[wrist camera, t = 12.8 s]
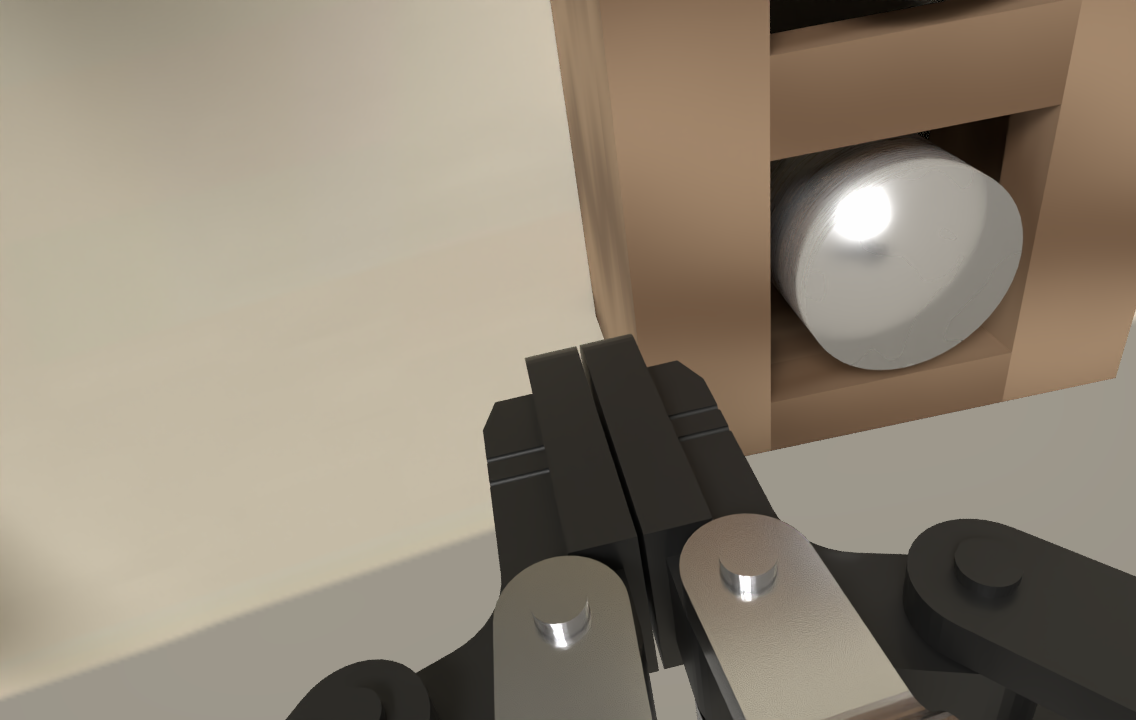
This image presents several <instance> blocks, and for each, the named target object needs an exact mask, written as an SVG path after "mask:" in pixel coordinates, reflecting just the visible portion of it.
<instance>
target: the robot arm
mask: <svg viewBox="0 0 1136 720" xmlns="http://www.w3.org/2000/svg"><path fill="white" fill-rule="evenodd" d="M580 352H581V359H582V362H581V359H580V356H579V353H578V350H577V348H576V346H575V347H571V348H566V349H562V350H558V351H553V352H549V353H545V354H540V355H536V356H532V357H527V358H525V361H526V365H527V370H528V375H529V379H530V384H531V388H532V393H533V394H530V395H525V396H521V397H517V398H512V399H508V400H504V401H499V402H495V404H494V406H493V409H492V411H491V413H490V415H489V418H488V420H487V422H486V425H485V427H484V429H483V434H484V442H485V450H486V458H487V463H488V464H487V466H488V474H489V482H490V486H491V488H490V490H491V498H492V506H493V514H494V522H495V530H496V538H497V546H498V554H499V562H500V571H501V591H500V596H499V599H498V601H497V603H496V607H495V609H494V611H493V613H492V615H491V617H490V618H489V619H488V621H487V622H486V624H485V625H484V627H483V628H482V629H481V630H480V631H479V632H478V633H477V634H476V635H475V636H474V637H473V638H472V639H471V640H469V641H468V642H467V643H466V644H464V645H463V646H461V647H460V648H458V649H457V650H455V651H454V652H452V653H450V654H449V655H447V656H445V657H443V658H441V659H440V660H438V661H436V662H435V663H433V664H431V665H429V666H427V667H426V668H424V669H422V670H421V671H419V672H417V673H415V672H413V671H412V670H411V669H410V668H408V667H406V666H404V665H403V664H400V663H397V662H393V661H389V660H367V661H361V662H357V663H354V664H351V665H348V666H346V667H344V668H342V669H339V670H337V671H335V672H333V673H332V674H330V675H329V676H327V677H326V678H324V679H323V680H322V681H320V682H319V683H318V684H317V685H316V686H315V687H313V688H312V689H311V690H310V692H308V693H307V695H306V696H305V697H304V698H303V699H302V700H301V701H300V703H299V704H298V705H297V706H296V708H295V709H294V710H293V711H292V713H291V714H290V715H289V716H288V718H287V719H286V720H657V717H656V711H655V705H654V700H653V694H652V688H651V682H650V676H649V673H652V672H656V671H659V669H658V663H657V657H656V650H655V644H654V639H653V634H654V637H655V640H656V643H657V647H658V650H659V653H660V657H661V660H662V663H663V666H664V669H667V668H671V667H675V666H679V665H683V664H684V666H685V669H686V672H687V675H688V678H689V682H690V685H691V688H692V691H693V694H694V697H695V703H696V711H697V719H698V720H1136V576H1133V575H1130V574H1128V573H1125V572H1123V571H1120V570H1118V569H1115V568H1113V567H1110V566H1108V565H1105V564H1103V563H1100V562H1098V561H1095V560H1092V559H1090V558H1087V557H1085V556H1083V555H1080V554H1078V553H1075V552H1073V551H1070V550H1068V549H1065V548H1063V547H1060V546H1058V545H1055V544H1053V543H1050V542H1048V541H1045V540H1043V539H1040V538H1038V537H1035V536H1033V535H1030V534H1027V533H1025V532H1022V531H1020V530H1017V529H1015V528H1012V527H1009V526H1006V525H1003V524H1000V523H996V522H992V521H987V520H979V519H957V520H950V521H946V522H942V523H939V524H936V525H934V526H932V527H930V528H928V529H927V530H925V531H924V532H923V533H921V534H920V535H919V536H918V537H917V538H916V539H915V541H914V542H913V544H912V546H911V548H910V549H909V553H908V555H902V554H876V553H873V554H872V553H853V552H842V551H837V550H833V549H828V548H825V547H822V546H819V545H816V544H814V543H812V542H809V541H808V540H807V538H806V537H805V536H804V535H802V534H801V533H800V532H799V531H798V530H797V529H795V528H794V527H792V526H790V525H789V524H787V523H785V522H783V521H781V520H780V519H779V518H778V517H777V515H776V514H775V512H774V510H773V509H772V507H771V505H770V503H769V501H768V499H767V497H766V495H765V494H764V492H763V490H762V488H761V486H760V484H759V482H758V480H757V478H756V477H755V475H754V473H753V471H752V469H751V467H750V465H749V463H748V462H747V460H746V458H745V456H744V454H743V452H742V450H741V448H740V446H739V444H738V443H737V441H736V439H735V437H734V435H733V433H732V431H730V430H729V427H728V424H727V422H726V420H725V418H724V416H723V414H722V412H721V410H720V409H718V406H717V403H716V401H715V399H714V397H713V395H712V393H711V392H710V390H709V388H708V386H707V384H706V382H705V380H704V379H703V378H702V377H701V376H699V375H698V374H696V373H695V372H693V371H692V370H691V369H689V368H688V367H686V366H685V365H683V364H682V363H681V362H679V361H678V360H676V361H672V362H667V363H663V364H659V365H654V366H650V367H647V366H646V364H645V362H644V359H643V357H642V355H641V353H640V350H639V348H638V346H637V343H636V341H635V339H634V337H633V335H632V334H627V335H622V336H618V337H614V338H609V339H605V340H601V341H596V342H592V343H587V344H583V345H580ZM582 364H583V366H582ZM652 630H653V631H652Z"/></svg>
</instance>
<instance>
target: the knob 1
mask: <svg viewBox="0 0 1136 720" xmlns="http://www.w3.org/2000/svg"><path fill="white" fill-rule="evenodd" d="M1022 244H1023V228H1022V223H1021V217H1020V214H1019V211H1018V209H1017V206H1016V204H1015V202H1014V201H1013V199H1012V197H1011V196H1010V194H1009V193H1008V192H1007V191H1006V190H1005V189H1004V188H1003V186H1001V185H1000V184H999V183H997V182H996V181H995V180H994V179H992V178H990V177H989V176H987V175H985V174H984V173H982V172H980V171H979V170H977V169H975V168H974V167H972V166H970V165H969V164H967V163H965V162H964V161H962V160H960V159H959V158H957V157H955V156H954V155H952V154H950V153H949V152H947V151H945V150H944V149H942V148H940V147H939V146H937V145H935V144H933V143H932V142H930V141H928V140H927V139H925V138H923V137H922V136H920V135H918V134H917V133H912V134H907V135H902V136H896V137H891V138H886V139H881V140H876V141H871V142H866V143H861V144H855V145H850V146H845V147H840V148H835V149H830V150H825V151H820V152H814V153H809V154H804V155H799V156H794V157H789V158H784V159H779V160H773V161H770V281H771V282H772V284H773V285H774V286H775V287H776V289H777V290H778V291H779V292H780V294H781V295H782V296H783V298H784V299H785V300H786V301H787V303H788V304H789V305H790V307H791V308H792V309H793V310H794V312H795V313H796V314H797V315H798V317H799V318H800V319H801V321H802V322H803V323H804V324H805V326H806V327H807V328H808V330H809V331H810V332H811V333H812V335H813V336H814V337H815V338H816V340H817V341H818V342H819V343H820V345H821V346H822V347H823V348H824V349H825V350H826V351H827V352H828V353H829V354H831V355H832V356H833V357H835V358H836V359H838V360H840V361H842V362H843V363H846V364H849V365H851V366H854V367H858V368H863V369H870V370H892V369H898V368H904V367H908V366H912V365H916V364H919V363H922V362H924V361H927V360H930V359H932V358H934V357H936V356H938V355H940V354H942V353H944V352H946V351H948V350H949V349H951V348H953V347H954V346H956V345H957V344H959V343H960V342H961V341H963V340H964V339H966V338H967V337H968V336H969V335H970V334H972V333H973V332H974V331H975V330H976V329H977V328H979V327H980V326H981V325H982V323H983V322H984V321H985V320H986V319H987V318H988V317H989V316H990V315H991V314H992V312H993V311H994V310H995V309H996V307H997V306H998V305H999V303H1000V302H1001V300H1002V299H1003V297H1004V296H1005V294H1006V293H1007V291H1008V289H1009V287H1010V285H1011V283H1012V281H1013V279H1014V276H1015V274H1016V271H1017V268H1018V265H1019V261H1020V257H1021V253H1022Z"/></svg>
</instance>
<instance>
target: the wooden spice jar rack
mask: <svg viewBox="0 0 1136 720" xmlns="http://www.w3.org/2000/svg"><path fill="white" fill-rule="evenodd" d="M550 2H551V9H552V16H553V22H554V29H555V36H556V43H557V50H558V57H559V64H560V71H561V78H562V85H563V92H564V98H565V105H566V112H567V119H568V126H569V133H570V140H571V147H572V154H573V161H574V168H575V174H576V181H577V188H578V195H579V202H580V209H581V216H582V223H583V230H584V237H585V243H586V250H587V257H588V264H589V271H590V278H591V285H592V292H593V299H594V306H595V313H596V317H597V320H598V323H599V326H600V329H601V331H602V334H603V337H604V340H605V339H609V338H614V337H618V336H622V335H627V334H632V335H633V337H634V339H635V341H636V343H637V346H638V348H639V350H640V353H641V355H642V357H643V359H644V362H645V364H646V366H647V367H650V366H654V365H659V364H663V363H667V362H672V361H676V360H678V361H679V362H681V363H682V364H683V365H685V366H686V367H688V368H689V369H691V370H692V371H693V372H695V373H696V374H698V375H699V376H701V377H702V378H703V379H704V380H705V382H706V384H707V386H708V388H709V390H710V392H711V393H712V395H713V397H714V399H715V401H716V403H717V406H718V409H720V410H721V412H722V414H723V416H724V418H725V420H726V422H727V424H728V427H729V430H730V431H732V433H733V435H734V437H735V439H736V441H737V443H738V444H739V446H740V448H741V450H742V452H743V454H744V456H748V455H753V454H758V453H762V452H767V451H772V450H777V449H781V448H786V447H791V446H796V445H800V444H805V443H810V442H814V441H819V440H824V439H829V438H833V437H838V436H842V435H848V434H852V433H857V432H862V431H866V430H871V429H876V428H881V427H885V426H890V425H895V424H899V423H904V422H909V421H914V420H919V419H923V418H928V417H933V416H937V415H942V414H947V413H951V412H956V411H961V410H966V409H971V408H975V407H980V406H985V405H990V404H994V403H999V402H1004V401H1008V400H1013V399H1018V398H1023V397H1027V396H1032V395H1037V394H1042V393H1046V392H1051V391H1056V390H1060V389H1065V388H1070V387H1075V386H1079V385H1083V384H1089V383H1094V382H1098V381H1103V380H1108V379H1113V378H1116V374H1117V371H1118V368H1119V364H1120V361H1121V357H1122V354H1123V350H1124V347H1125V344H1126V340H1127V337H1128V333H1129V330H1130V327H1131V323H1132V320H1133V316H1134V313H1135V310H1136V0H945V1H943V2H938V3H933V4H927V5H922V6H917V7H911V8H906V9H901V10H895V11H890V12H885V13H879V14H874V15H869V16H863V17H858V18H853V19H848V20H842V21H837V22H832V23H826V24H821V25H816V26H810V27H805V28H800V29H794V30H789V31H784V32H778V33H773V34H770V0H550ZM927 130H930V137H929V141H930V142H932V143H933V144H935V145H937V146H939V147H940V148H942V149H944V150H945V151H947V152H949V153H950V154H952V155H954V156H955V157H957V158H959V159H960V160H962V161H964V162H965V163H967V164H969V165H970V166H972V167H974V168H975V169H977V170H979V171H980V172H982V173H984V174H985V175H987V176H989V177H990V178H992V179H994V180H995V181H996V182H997V183H999V184H1000V185H1001V186H1003V188H1004V189H1005V190H1006V191H1007V192H1008V193H1009V194H1010V196H1011V197H1012V199H1013V201H1014V202H1015V204H1016V206H1017V209H1018V211H1019V214H1020V217H1021V223H1022V228H1023V244H1022V253H1021V257H1020V261H1019V265H1018V268H1017V271H1016V274H1015V276H1014V279H1013V281H1012V283H1011V285H1010V287H1009V289H1008V291H1007V293H1006V294H1005V296H1004V297H1003V299H1002V300H1001V302H1000V303H999V305H998V306H997V307H996V309H995V310H994V311H993V312H992V314H991V315H990V316H989V317H988V318H987V319H986V320H985V321H984V322H983V323H982V325H981V326H980V327H979V328H977V329H976V330H975V331H974V332H973V333H972V334H970V335H969V336H968V337H967V338H966V339H964V340H963V341H961V342H960V343H959V344H957V345H956V346H954V347H953V348H951V349H949V350H948V351H946V352H944V353H942V354H940V355H938V356H936V357H934V358H932V359H930V360H927V361H924V362H922V363H919V364H916V365H912V366H908V367H904V368H898V369H892V370H870V369H863V368H858V367H854V366H851V365H849V364H846V363H843V362H842V361H840V360H838V359H836V358H835V357H833V356H832V355H831V354H829V353H828V352H827V351H826V350H825V349H824V348H823V347H822V346H821V345H820V343H819V342H818V341H817V340H816V338H815V337H814V336H813V335H812V333H811V332H810V331H809V330H808V328H807V327H806V326H805V324H804V323H803V322H802V321H801V319H800V318H799V317H798V315H797V314H796V313H795V312H794V310H793V309H792V308H791V307H790V305H789V304H788V303H787V301H786V300H785V299H784V298H783V296H782V295H781V294H780V292H779V291H778V290H777V289H776V287H775V286H774V285H773V284H772V282H771V281H770V161H773V160H779V159H784V158H789V157H794V156H799V155H804V154H809V153H814V152H820V151H825V150H830V149H835V148H840V147H845V146H850V145H855V144H861V143H866V142H871V141H876V140H881V139H886V138H891V137H896V136H902V135H907V134H912V133H917V132H922V131H927Z"/></svg>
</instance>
